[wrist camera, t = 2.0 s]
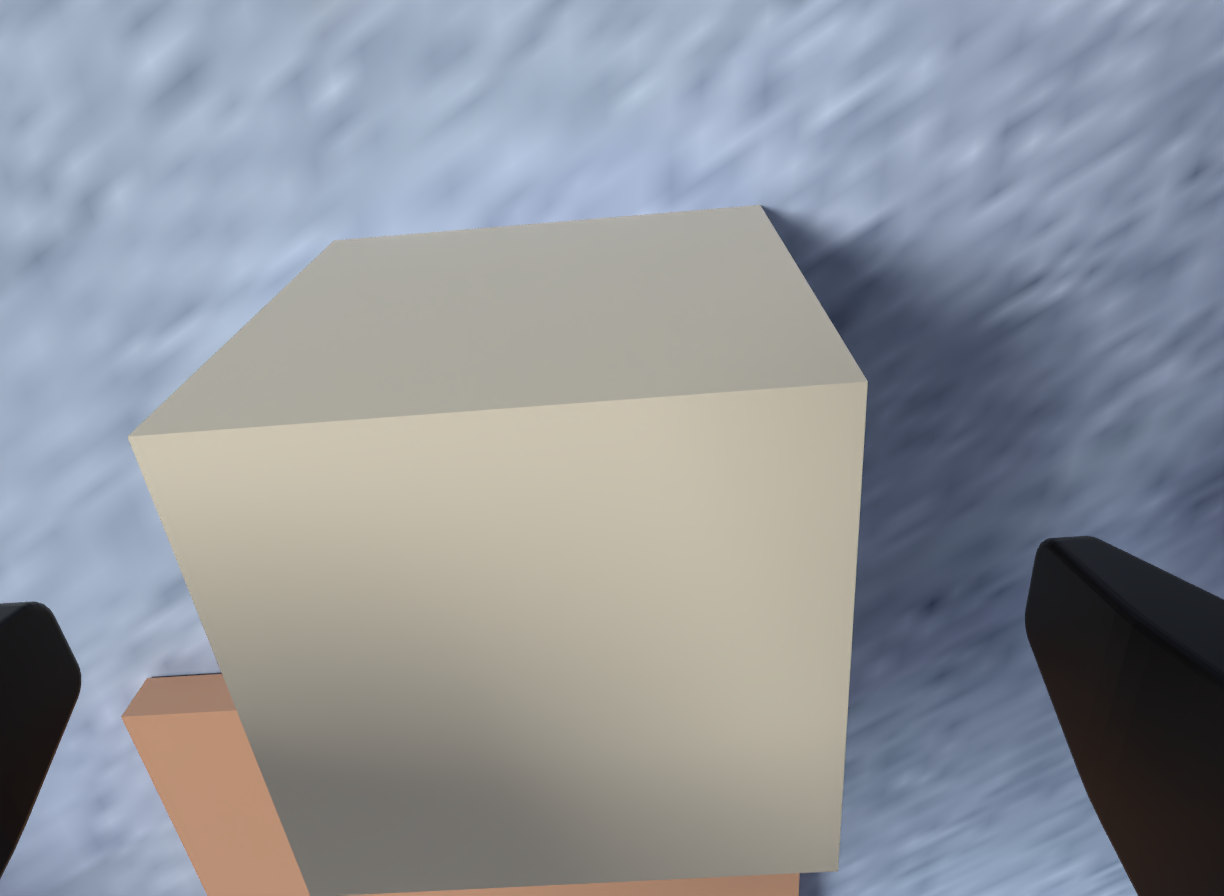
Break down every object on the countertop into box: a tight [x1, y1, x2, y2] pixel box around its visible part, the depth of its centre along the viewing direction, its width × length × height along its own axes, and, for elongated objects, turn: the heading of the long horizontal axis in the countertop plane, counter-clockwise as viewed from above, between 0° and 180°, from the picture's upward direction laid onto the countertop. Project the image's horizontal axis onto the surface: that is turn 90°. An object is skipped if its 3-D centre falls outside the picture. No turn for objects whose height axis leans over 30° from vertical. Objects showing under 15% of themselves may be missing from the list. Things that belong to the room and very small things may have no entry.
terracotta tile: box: [121, 674, 799, 896], centre depth 15 cm, size 10×10×1 cm
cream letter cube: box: [128, 205, 868, 896], centre depth 9 cm, size 5×5×5 cm
